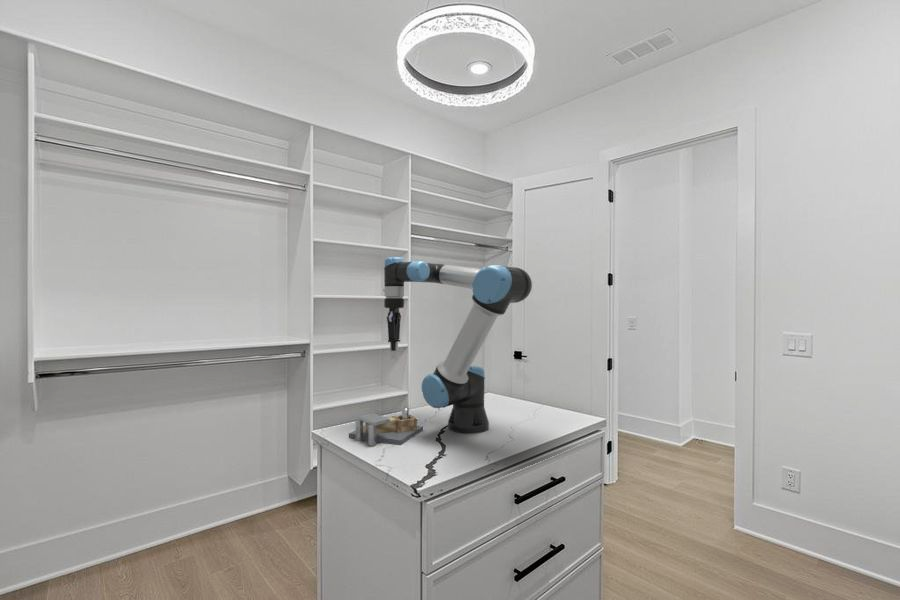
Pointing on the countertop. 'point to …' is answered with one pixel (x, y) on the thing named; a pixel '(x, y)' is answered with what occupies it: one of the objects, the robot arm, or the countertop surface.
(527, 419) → the countertop surface
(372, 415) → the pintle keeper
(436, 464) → the countertop surface
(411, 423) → the link
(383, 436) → the base plate
